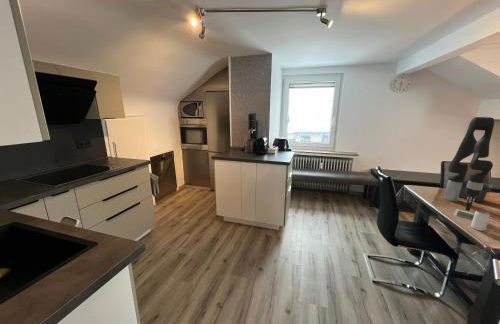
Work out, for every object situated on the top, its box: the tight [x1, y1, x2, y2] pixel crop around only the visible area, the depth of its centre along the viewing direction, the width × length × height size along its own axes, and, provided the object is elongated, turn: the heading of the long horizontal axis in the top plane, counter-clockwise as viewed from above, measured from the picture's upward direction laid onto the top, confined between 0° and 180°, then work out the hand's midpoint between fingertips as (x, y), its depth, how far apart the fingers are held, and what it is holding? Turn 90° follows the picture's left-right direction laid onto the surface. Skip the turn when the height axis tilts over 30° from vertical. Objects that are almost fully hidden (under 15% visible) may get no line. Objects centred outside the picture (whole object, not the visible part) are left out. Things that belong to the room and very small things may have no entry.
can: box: [470, 209, 490, 232], centre depth 134 cm, size 6×6×12 cm
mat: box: [452, 208, 475, 222], centre depth 152 cm, size 16×12×1 cm
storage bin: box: [459, 179, 493, 203], centre depth 182 cm, size 21×16×14 cm
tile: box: [455, 210, 474, 221], centre depth 150 cm, size 2×9×7 cm
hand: (467, 210), depth 149 cm, fingers closed
